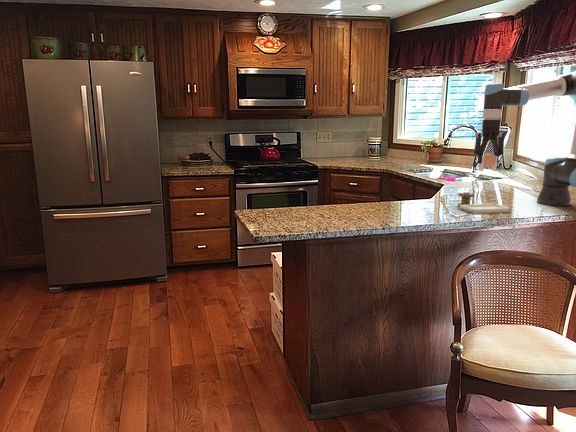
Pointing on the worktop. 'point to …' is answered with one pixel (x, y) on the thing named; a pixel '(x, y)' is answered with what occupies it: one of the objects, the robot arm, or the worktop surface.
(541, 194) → the robot arm
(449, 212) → the worktop surface
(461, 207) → the tray
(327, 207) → the worktop surface
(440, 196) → the worktop surface
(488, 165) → the ball
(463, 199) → the pedestal
